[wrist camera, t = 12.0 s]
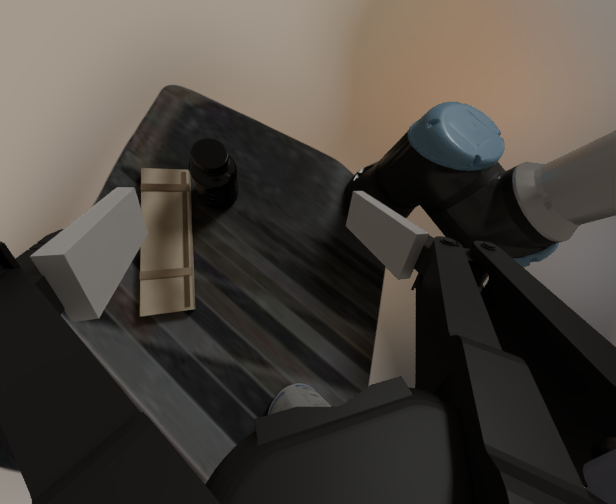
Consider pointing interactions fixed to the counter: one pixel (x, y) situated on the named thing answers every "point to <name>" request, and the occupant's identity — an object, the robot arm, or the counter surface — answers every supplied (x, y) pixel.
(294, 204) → the counter surface
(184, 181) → the birch board
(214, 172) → the supplement bottle
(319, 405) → the supplement tub
